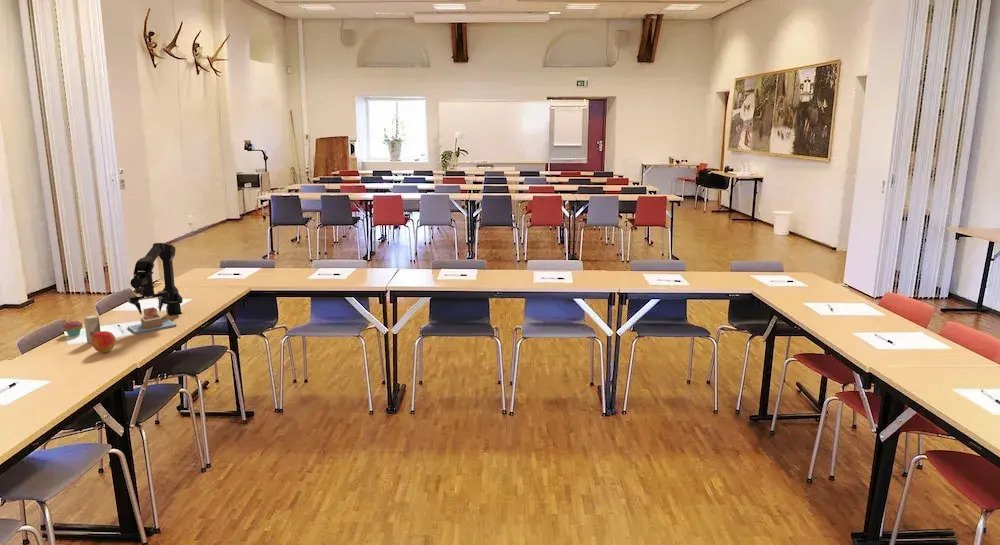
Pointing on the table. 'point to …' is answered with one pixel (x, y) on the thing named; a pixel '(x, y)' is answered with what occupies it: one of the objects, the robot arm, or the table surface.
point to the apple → (103, 341)
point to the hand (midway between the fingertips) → (150, 312)
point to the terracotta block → (150, 313)
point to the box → (91, 327)
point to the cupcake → (72, 327)
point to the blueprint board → (139, 328)
